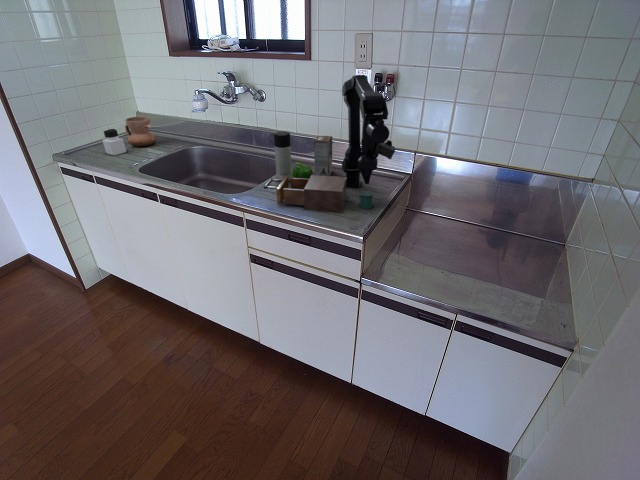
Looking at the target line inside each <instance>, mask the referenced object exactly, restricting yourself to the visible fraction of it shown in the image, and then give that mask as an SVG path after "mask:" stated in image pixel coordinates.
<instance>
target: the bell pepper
mask: <svg viewBox="0 0 640 480" xmlns="http://www.w3.org/2000/svg"><path fill="white" fill-rule="evenodd" d="M311 175H314V171H313V169H312V167H311V165H307V166H306V165H304V164H302V163H301V162H295V166H293V168H292V178H304V179H310V177H311Z"/></svg>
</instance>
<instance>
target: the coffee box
mask: <svg viewBox="0 0 640 480" xmlns="http://www.w3.org/2000/svg"><path fill="white" fill-rule="evenodd" d="M313 149H314V151H313V152H314V153H313V155H314V156H313V158H314V162H313V163H314V175H320V176H331V174H332V172H333V135H318V136H317V137H316V138H315V140H314V142H313Z"/></svg>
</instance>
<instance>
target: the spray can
mask: <svg viewBox="0 0 640 480" xmlns="http://www.w3.org/2000/svg"><path fill="white" fill-rule="evenodd" d="M273 142H274V144H273V145H274V157H275V158H274V159H275V172H276V175H275V176H276V180H283V179H284V177H285V176H288V180H289V182H291V178H293V177H292V172H293V167H292V165H293V164H292V146H291V133H290V132H289V131H284V130H280V131H276V132H275V133H274V132H273Z"/></svg>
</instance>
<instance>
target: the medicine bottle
mask: <svg viewBox="0 0 640 480" xmlns="http://www.w3.org/2000/svg"><path fill="white" fill-rule="evenodd" d="M103 135H104V139H102V140H101V141H102V143H103V147H104V150H105V153H106V154H107V155H110V156H119V155H121V154H125V153H127V149H126V145H125V142H124V138H121V137H119V133H118V130H117V129H115V128H108V129H104V130H103Z"/></svg>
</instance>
